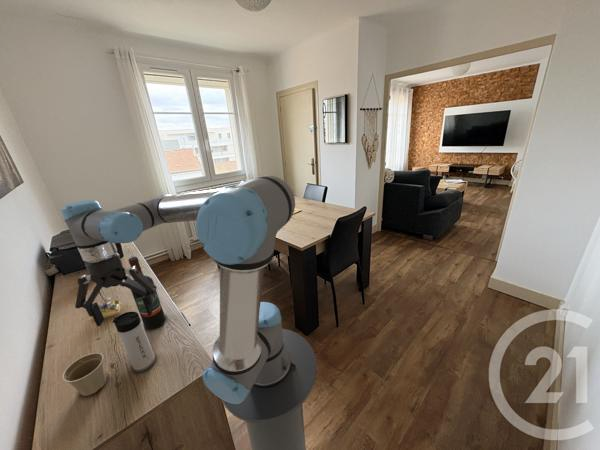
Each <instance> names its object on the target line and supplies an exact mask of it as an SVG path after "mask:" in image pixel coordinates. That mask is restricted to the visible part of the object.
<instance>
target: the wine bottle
mask: <svg viewBox="0 0 600 450" xmlns="http://www.w3.org/2000/svg"><path fill="white" fill-rule="evenodd" d="M139 261H140V260H139V258H138V256H132V257H130V258H128V263H129V266H130V268H132V266H134V265H135V266H137V268H138V270H139V272H140V273H142V274H143V275H144V273H143V270H142V267H141V264H140V262H139ZM144 276H145V277H146V278H147V279H148V280H149V281H151V282H152V283H153V284H154V285H155V283H154V280H153V278H152V277H151V276H148V275H144ZM133 280H134V279H133ZM134 281H135V282H137V281H136V280H134ZM137 283H138V282H137ZM130 292H131V294H132V297H133V301H134V302H135V305H136V307H137V310H138V312H139V313H138V314H139V317H140V319H141V322H142V324H143V327H144V329H145V330H149V331H151V330H156V329H157V328H160V327H161V326H163V324H164V323H165V322H166V320H167V319H166V316H165V312H164V309H163V307H162V303H161V300H160V297H159V294H158V291H157V290H156V291H155V293H154V294H152V297H153V300H154V301H153V303H152V306H153V309H154V310H153V312H152V314H151V315H150V316H148V313H147V311H146V308H145V305H144V303H143V300H142V298H143V296H142V295H141V294H139V293H137V292H135V291H133V290H131V289H130Z"/></svg>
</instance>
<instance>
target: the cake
mask: <svg viewBox="0 0 600 450" xmlns="http://www.w3.org/2000/svg"><path fill="white" fill-rule="evenodd" d="M104 294H105V298H106V301H107V302H103V303H102V304H98V306H99V308H100V310H101V312H102V315H103V317H104V319H107V318H110V317H112V316H115V315H117V314H119V313H120V312H121V305H122V304H121V302H120V301H119V300H118V299H115V300H112V298H111V296H108V295H107V292H106V290H104ZM111 300H112V301H111ZM90 323H95V320H94V318H93V316H92V317H90Z"/></svg>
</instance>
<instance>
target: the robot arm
mask: <svg viewBox="0 0 600 450" xmlns="http://www.w3.org/2000/svg"><path fill="white" fill-rule="evenodd" d="M295 208H296V198H295V194H294V192H293V190H292V188H291V186H290V185H289V184H288V183H287V182H286V181H284V179H282V178H280V177H278V176H275V175H271V174H270V175H269V174H268V175H260V176H257V177H254V178H252V179H248V180H242V181H240V182H239V183H238V184H237V185H230V186H227V187H223V188H216V189H209V190H202V191H195V192H194V191H193V192H187V193H181V194H173V195H172V194H169V193H168V194H162V195H157V196H155V197H153V198H150V199H147V200H143V201H140V202H136V203H133V204H129V205H126V206H123V207H122V206H121V207H119V208H117V209H112V210H104V209H103V207H102V206H101V205H100V202H98V200H96V199H85V200H78V201H73V202H69V203H66V204H64V205H63V206H62V207H61V209H60V210H61V213H62V216H63V219H64V223H65V225H66V227H67V228H68V229H69V233H70V235H71V237H72V239H73V241H74V243H75V245H76V248H77V250H78V252H79V253H80V254H79V255H80V256H81V259H82V262H84V266H85V268H86V270H87V273H88V274H87V273H83V274H82V275H81V276H79V278H77V284H78V290H77V295H76V300H75V305H74V308H75V309H81V308H83V309H85V310H86V313H87V314H88V316H89V317H90V318H91V317H92V316H93V318H94V320H95V322H94V323H95V325H96V327H101V326H102V325H103V324H104V321H105V320H106V318H104V317H103V315H102V312H101V310H100V308H99V306H98V305H99V304H98V302H95V300H96V298H97V297H98V295H99V293H100V291H101V290H102V288H104V289H109V288H111V287H118V286H120V287H124V288H127V289H129V290H130V291H131V290H133V291H135V292H137V293H139V294H141V295H142V296H143V298H142V300H143V303H144V305H145V308H146V311H147V313H148V316H150V315H151V314H152V312H153V310H154V309H153V306H152V303H153V301H154V300H153V297H152V294H154V293H155V291H157V290H158V289H157V288H158V286H156V285H155V283H154V284H153V283H152V282H151V281H149V280H148V279H147V278H146V277H145V276H146V275H144V273H143V272H142V273H143V274H142V273H140V272H139V270H138V268H137V266H135V265H134V266H132V268H131V267H128V268H126V267H124V266H123V262H122V259H121V257H120V256H121V255H120V253H119V252H118V248H117V245H116V244H130V243H132V242H135V241H137V240H138V238H139V237H140V236H142V234H143V233H144V232H145V231H148V230H149V229H152V228H154V227H157V226H160V225H162V224H171V223H183V222H195V228H196V229H195V230H196V235H197V239H198V242H199V243H200V244H203V245H204V247H203V248H202V249H203V251H205V253H206V254H207V255H208V256H209V257H210V258H211V259H212V261H213V262H214V263H215V264H216V265H217V266H219V336H218V337H217V338H216V340H215V341H214V344H213V347H212V360H211V362H210V364H209V365H208V366H207V367H206V368H205V370H204V372H203V373H202V382H203V384H204V385H205V387H206V388H207V389H208V390H209V391H210V392H211V393H212V394H213V395H214V396H216V397H217V398H219V399H220V400H221V399H222V400H224V401H226V402H229V403H232V404H239V403H242V402H243V401H244V400H245V398H246V397H247V395H248V394H249V393H250V390H251V388H252V386H255V387H258V388H270V387H273V386H276V385H278V384H279V383H281V382H282V381H283V380H284V379H285V378H286V377H287V375H288V373H289V371H290V368H291V366H292V367H294V368H295V366H296V365H295V364H293V363H291V358H290V353H289V351H288V350H287V348H286V346H285V345H284V343H283V333H282V329H283V325H282V324H283V323H282V316H281V311H280V309H279V307H278V306H277V305H276V304H274V303H272V302H267V301H262V291H263V283H264V273H265V267H267V266H268V265H269V264H270V263H271V262H272V261H273V259H274V254H275V246H276V239H277V238H276V237H277V235H278V232H279V231H280V230H282V228H283V227H285V226H286V225H287V224H288V223H289V222H290V220H291V219H292V217H293V215H294V212H295V210H296V209H295ZM134 280H136V281H137V282H138V283H137V282H135V281H134ZM90 282H93V283H94V284H95V286H94V287H93V289H92V291H91V293H90V295H89V297H88V298H87V295H88V289H89V285H90ZM86 299H87V300H86ZM222 400H221V401H222Z"/></svg>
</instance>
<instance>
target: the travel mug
mask: <svg viewBox="0 0 600 450" xmlns="http://www.w3.org/2000/svg"><path fill="white" fill-rule="evenodd" d="M112 324H114V326H115V328H116V332H117V333H118V335H119V339H120V341H121V342H122V345H123V347H124V350H125V352H126V354H127V356H128V359H129V361H130V364H131V365H132V369H133V370H134V371H135V372H143V371H146V370H147V369H149V368H150V367H152V366H153V365H154V363H155V361H156V356H155V354H154V351H153V348H152V345H151V342H150V340H149V338H148V337H149V336H148V335H147V332H146V328H145V326H144V324H143V321H142V318H141V316H140V314H139V313H138V312H137V311H126V312H123V313H121V314H119V315H118V316H116V317H114V318H113V319H112Z"/></svg>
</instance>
